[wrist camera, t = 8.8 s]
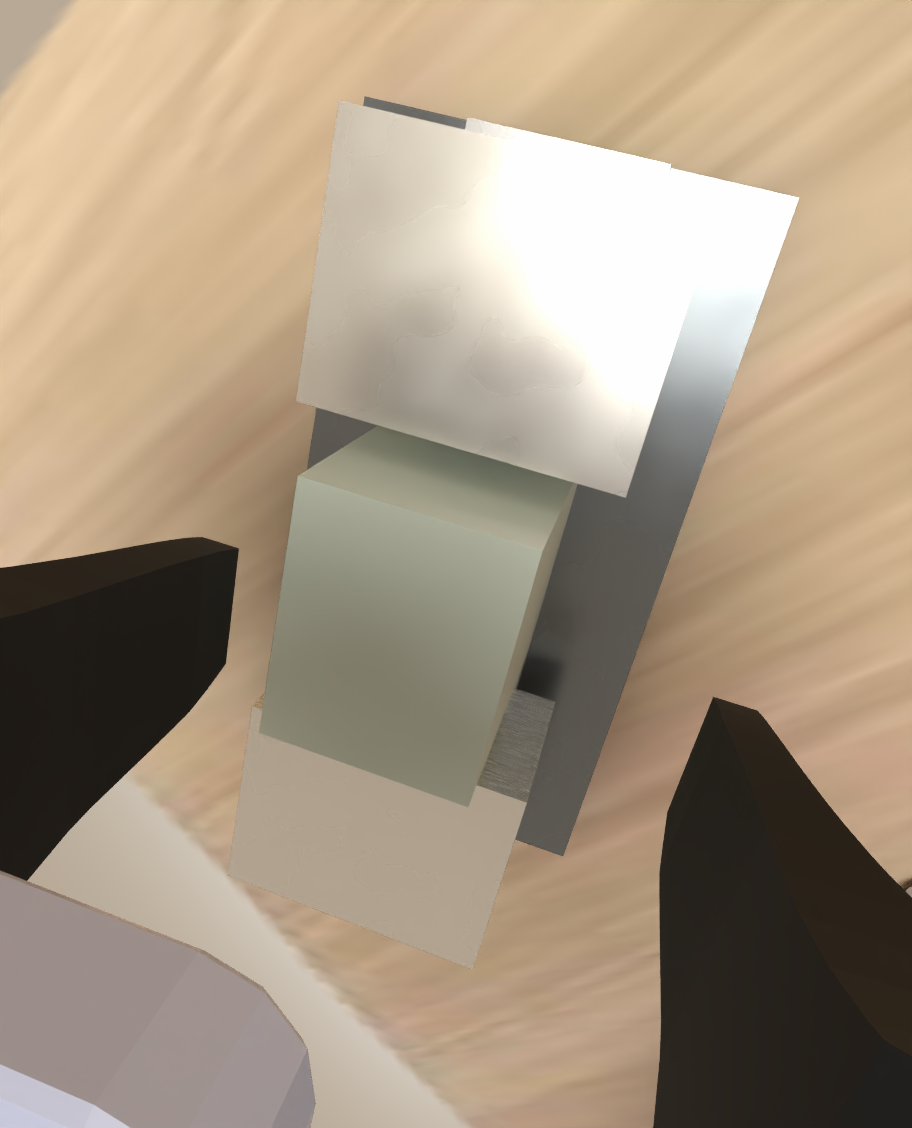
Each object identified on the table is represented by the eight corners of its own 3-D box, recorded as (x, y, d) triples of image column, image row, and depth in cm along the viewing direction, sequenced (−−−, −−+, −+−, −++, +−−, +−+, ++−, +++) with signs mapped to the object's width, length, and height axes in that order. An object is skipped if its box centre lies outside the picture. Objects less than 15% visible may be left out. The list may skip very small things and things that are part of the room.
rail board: (567, 832, 24) (532, 1006, 19) (278, 730, 25) (168, 866, 20) (793, 199, 17) (841, 185, 12) (380, 103, 18) (253, 50, 13)
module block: (527, 652, 20) (468, 807, 15) (370, 601, 21) (259, 732, 15) (586, 455, 18) (542, 551, 13) (410, 404, 19) (297, 475, 13)
